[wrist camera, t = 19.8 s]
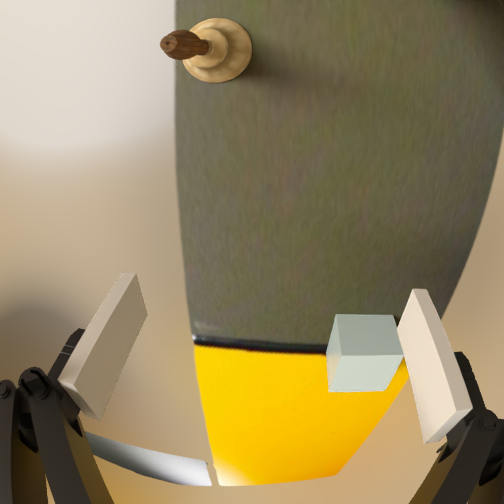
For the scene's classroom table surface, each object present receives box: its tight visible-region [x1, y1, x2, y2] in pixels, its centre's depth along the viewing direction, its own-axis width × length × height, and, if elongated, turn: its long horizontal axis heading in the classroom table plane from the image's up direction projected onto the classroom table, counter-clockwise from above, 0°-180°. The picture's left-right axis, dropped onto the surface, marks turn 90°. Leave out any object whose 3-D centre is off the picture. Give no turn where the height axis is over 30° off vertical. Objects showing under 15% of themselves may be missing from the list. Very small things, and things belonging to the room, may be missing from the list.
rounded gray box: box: [326, 314, 404, 392], centre depth 49 cm, size 10×10×9 cm
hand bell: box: [160, 18, 252, 83], centre depth 24 cm, size 8×8×16 cm
